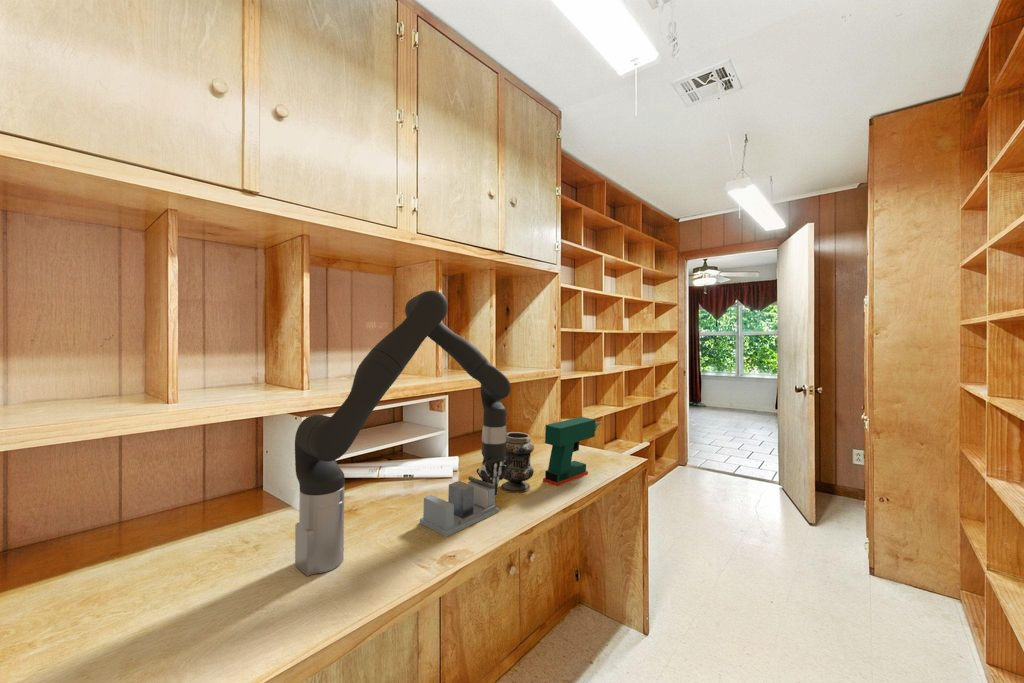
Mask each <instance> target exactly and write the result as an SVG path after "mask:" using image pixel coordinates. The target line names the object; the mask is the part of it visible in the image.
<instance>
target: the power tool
mask: <svg viewBox="0 0 1024 683" xmlns="http://www.w3.org/2000/svg"><path fill="white" fill-rule="evenodd" d="M601 424H602V422H597V421H596V419H594V418H589V417H585V416H580V417H575V418H571V419H565V420H562V421H561V420H560V421H557V422H553V423H549V424H548V423H547V424H545V429H544V430H545V434H544V435H545V436H544V444H546V445H550V446H551V452H550V457H549V462H548V467H547V470H545V472H544V474H545V475H544V477H543V478H542V482H544V483H546V484H550V485H551V486H555V487H560V486H562V485H564V484H567V483H570V482H571V481H574V479H575V480H577V479H579V477H580V478H582V477H584V475H585V476H587V475H588V474H589V471H588V470H587V464H586V463H584V462H580V461H577V460H572V458H573V453H575V452H577V451H579V450H580V442H582V441H586V440H588V439H592V438H595V437H596V431H597V429H598V426H600V425H601Z"/></svg>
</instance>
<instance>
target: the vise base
mask: <svg viewBox="0 0 1024 683" xmlns="http://www.w3.org/2000/svg"><path fill="white" fill-rule="evenodd" d="M499 510H500V509H499V507H497V505H496V504H495V505H492V506H490V507H488V508H486V509H485V508H482V507H480V506H477V505H475V504H473V514H472V515H470V516H468V517H466V518H464V519H462V518H460V517H458V516H455V515H454V504H452V503H449V502H448V501H446V500H444V499H443V498H440V497H438V496H436V495H433V494H429V495H427V496H424V497H423V515H422V516H423V517H421V518H419V524H421V525H422V526H425V527H427V528H429V529H431V530H432V531H435V532H437V533H438V534H440V535H442V536H444V537H448V536H451V535H453V534H455V533H457V532H459V531H462V530H463V529H466V528H468V527H470V526H472V525H474V524H476V523H478V522H481V521H483V520H485V519H487V518H489V517H491V516H493V515H495V514H497V513H499Z"/></svg>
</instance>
